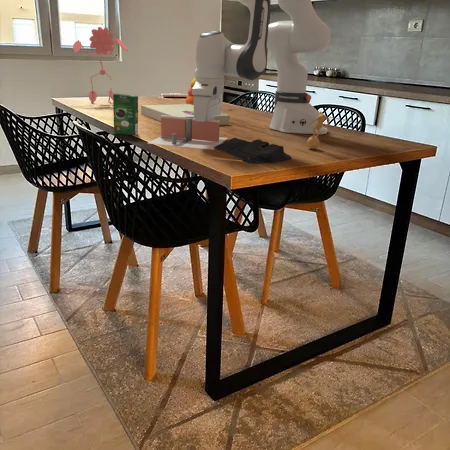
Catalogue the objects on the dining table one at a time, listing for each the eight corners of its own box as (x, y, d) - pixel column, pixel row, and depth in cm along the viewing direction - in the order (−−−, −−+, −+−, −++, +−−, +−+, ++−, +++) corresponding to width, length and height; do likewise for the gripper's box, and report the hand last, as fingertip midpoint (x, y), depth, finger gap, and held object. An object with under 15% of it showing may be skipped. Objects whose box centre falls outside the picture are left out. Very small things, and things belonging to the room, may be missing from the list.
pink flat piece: (192, 139, 149) (193, 117, 146) (190, 140, 147) (191, 118, 144) (162, 136, 151) (162, 114, 148) (160, 137, 149) (160, 115, 146)
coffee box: (139, 135, 154) (138, 95, 149) (135, 136, 151) (134, 95, 146) (117, 133, 156) (116, 93, 151) (113, 134, 153) (111, 94, 148)
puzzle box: (189, 114, 212) (140, 115, 200) (189, 103, 210) (140, 104, 199) (229, 127, 183) (175, 129, 172) (230, 115, 182) (175, 116, 170)
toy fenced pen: (227, 139, 154) (228, 129, 153) (213, 151, 136) (213, 139, 135) (168, 134, 158) (168, 123, 157) (146, 144, 140) (146, 133, 139)
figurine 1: (73, 102, 225) (69, 24, 212) (123, 101, 239) (121, 28, 226) (84, 107, 213) (80, 25, 200) (135, 105, 228) (135, 29, 214)
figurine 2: (318, 147, 150) (323, 109, 145) (330, 150, 145) (335, 112, 140) (298, 148, 146) (302, 110, 141) (310, 152, 141) (314, 112, 136)
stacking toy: (209, 111, 220) (211, 68, 213) (181, 109, 222) (181, 66, 215) (215, 107, 233) (216, 67, 226) (187, 105, 235) (188, 65, 228)
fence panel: (218, 141, 146) (219, 120, 144) (217, 141, 145) (218, 120, 143) (192, 138, 148) (193, 117, 146) (191, 139, 147) (192, 118, 145)
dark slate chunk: (247, 146, 147) (248, 131, 146) (295, 161, 131) (297, 145, 129) (207, 150, 139) (208, 135, 137) (254, 167, 122) (255, 149, 121)
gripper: (208, 84, 153) (207, 126, 158) (190, 89, 134) (189, 136, 139) (227, 85, 152) (225, 127, 157) (210, 90, 133) (209, 138, 138)
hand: (208, 131), depth 148 cm, fingers closed
